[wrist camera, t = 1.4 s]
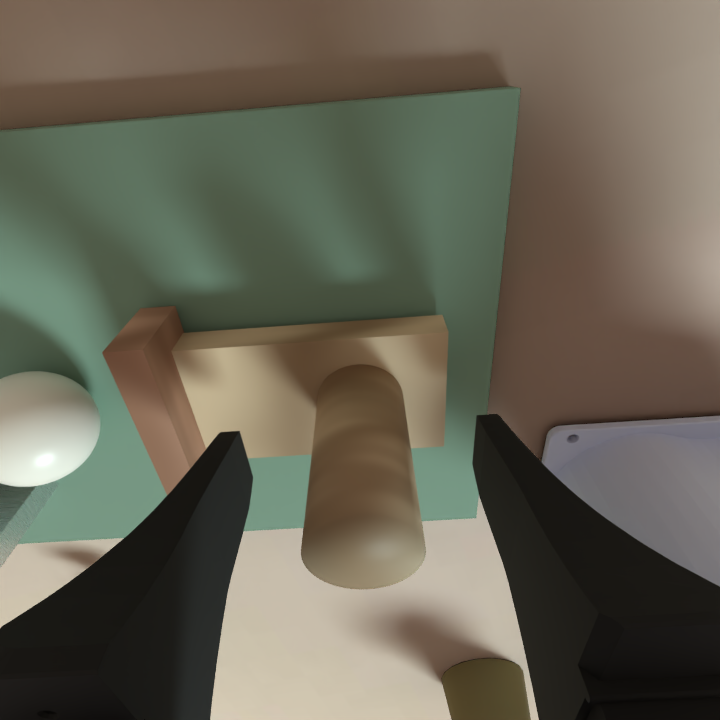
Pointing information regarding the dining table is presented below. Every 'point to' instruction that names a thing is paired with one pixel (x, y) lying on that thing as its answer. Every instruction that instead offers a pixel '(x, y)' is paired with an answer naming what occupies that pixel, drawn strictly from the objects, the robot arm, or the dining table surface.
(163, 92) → the dining table surface
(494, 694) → the cork
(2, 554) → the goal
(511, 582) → the robot arm
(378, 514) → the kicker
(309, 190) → the pitch
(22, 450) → the ball
